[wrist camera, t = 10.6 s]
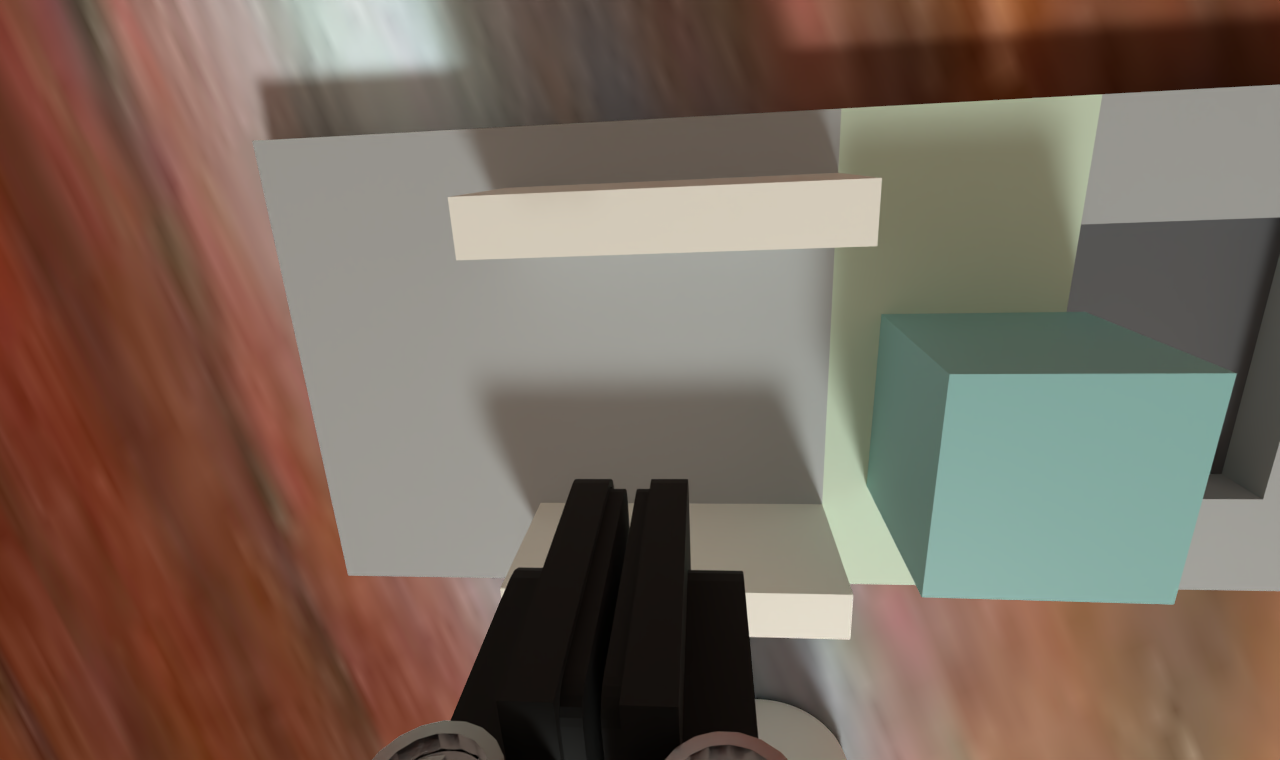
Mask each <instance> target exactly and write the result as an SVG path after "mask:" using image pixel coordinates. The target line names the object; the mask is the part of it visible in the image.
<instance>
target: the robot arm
mask: <svg viewBox="0 0 1280 760" xmlns="http://www.w3.org/2000/svg"><path fill="white" fill-rule="evenodd" d="M373 760H788V759H787V758H786V757H785V756H784V755H783V754H782V753H781V752H780V751H778V750H777V749H775V748H774V747H772V746H771V745H769V744H767V743H766V742H764V741H763V740H761V739H758V728H757V716H756V705H755V694H754V683H753V672H752V661H751V650H750V639H749V628H748V616H747V605H746V594H745V583H744V574H743V571H725V570H691V552H690V515H689V483H688V479H651V483H650V489H637V490H636V495H635V501H634V506H633V512H632V518H631V523H630V526H629V511H628V497H627V490H626V489H614V484H613V480H612V479H575V480H574V482H573V484H572V487H571V489H570V492H569V495H568V498H567V501H566V504H565V506H564V509H563V512H562V515H561V518H560V520H559V523H558V526H557V529H556V532H555V535H554V537H553V540H552V543H551V546H550V549H549V552H548V554H547V557H546V560H545V563H544V566H543V568H525V567H518V568H517V569H515V570H514V572H513V573H512V575H511V577H510V579H509V582H508V584H507V586H506V589H505V591H504V594H503V596H502V598H501V601H500V603H499V606H498V608H497V610H496V613H495V615H494V618H493V620H492V622H491V625H490V627H489V630H488V632H487V634H486V637H485V639H484V642H483V644H482V646H481V649H480V651H479V654H478V656H477V658H476V661H475V663H474V666H473V668H472V670H471V673H470V675H469V678H468V680H467V682H466V685H465V687H464V690H463V692H462V694H461V697H460V699H459V702H458V704H457V706H456V709H455V711H454V714H453V716H452V718H451V721H440V722H436V723H431V724H427V725H423V726H420V727H418V728H416V729H414V730H412V731H409V732H407V733H405V734H403V735H401V736H399V737H398V738H397V739H395V740H394V741H393V742H391V743H390V744H389V745H387V746H386V747H385V748H383V749H382V750H381V751H380V752H379V753H378V754H377V755H376V756H375V757H374V758H373Z"/></svg>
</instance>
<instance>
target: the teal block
mask: <svg viewBox="0 0 1280 760" xmlns="http://www.w3.org/2000/svg"><path fill="white" fill-rule="evenodd" d="M1236 375H1237V373H1235V372H1232V371H1230V370H1227V369H1225V368H1222V367H1220V366H1218V365H1215V364H1213V363H1210V362H1208V361H1205V360H1203V359H1200V358H1198V357H1195V356H1193V355H1190V354H1188V353H1185V352H1183V351H1181V350H1178V349H1176V348H1173V347H1171V346H1168V345H1166V344H1163V343H1161V342H1158V341H1156V340H1153V339H1151V338H1148V337H1146V336H1144V335H1141V334H1139V333H1136V332H1134V331H1131V330H1129V329H1126V328H1124V327H1121V326H1119V325H1116V324H1114V323H1111V322H1109V321H1106V320H1104V319H1102V318H1099V317H1097V316H1094V315H1092V314H1089V313H1087V312H1022V313H936V314H881V324H880V336H879V347H878V359H877V370H876V382H875V394H874V405H873V417H872V428H871V440H870V451H869V463H868V474H867V488H868V490H869V492H870V494H871V496H872V498H873V500H874V502H875V504H876V506H877V508H878V510H879V512H880V514H881V516H882V518H883V520H884V522H885V524H886V526H887V528H888V530H889V532H890V534H891V536H892V538H893V540H894V542H895V544H896V546H897V548H898V550H899V552H900V554H901V556H902V558H903V560H904V562H905V564H906V566H907V568H908V570H909V572H910V574H911V576H912V578H913V580H914V582H915V584H916V586H917V588H918V590H919V592H920V594H921V597H935V598H969V599H1004V600H1039V601H1073V602H1108V603H1143V604H1174V603H1175V599H1176V595H1177V592H1178V588H1179V584H1180V580H1181V577H1182V573H1183V569H1184V566H1185V562H1186V558H1187V555H1188V551H1189V547H1190V544H1191V540H1192V536H1193V533H1194V529H1195V525H1196V522H1197V518H1198V514H1199V511H1200V507H1201V503H1202V500H1203V496H1204V492H1205V489H1206V485H1207V481H1208V478H1209V474H1210V470H1211V467H1212V463H1213V459H1214V456H1215V452H1216V448H1217V445H1218V441H1219V437H1220V434H1221V430H1222V426H1223V423H1224V419H1225V415H1226V412H1227V408H1228V404H1229V401H1230V397H1231V393H1232V390H1233V386H1234V382H1235V379H1236Z"/></svg>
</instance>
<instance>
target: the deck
mask: <svg viewBox="0 0 1280 760" xmlns="http://www.w3.org/2000/svg"><path fill="white" fill-rule="evenodd" d="M252 142H253V146H254V151H255V155H256V160H257V164H258V169H259V173H260V178H261V183H262V187H263V192H264V196H265V201H266V205H267V210H268V214H269V219H270V223H271V228H272V232H273V237H274V241H275V246H276V250H277V255H278V260H279V264H280V269H281V273H282V278H283V282H284V287H285V291H286V296H287V300H288V305H289V309H290V314H291V318H292V323H293V327H294V332H295V337H296V341H297V346H298V350H299V355H300V359H301V364H302V368H303V373H304V377H305V382H306V386H307V391H308V395H309V400H310V404H311V409H312V414H313V418H314V423H315V427H316V432H317V436H318V441H319V445H320V450H321V454H322V459H323V463H324V468H325V472H326V477H327V481H328V486H329V491H330V495H331V500H332V504H333V509H334V513H335V518H336V522H337V527H338V531H339V536H340V540H341V545H342V549H343V554H344V558H345V563H346V568H347V572H348V575H353V576H412V577H472V578H505V580H504V582H503V584H502V586H501V588H500V589H501V597H502V596H503V594H504V591H505V589H506V586H507V584H508V582H509V579H510V577H511V575H512V573H513V572H514V570H515V569H517V568H518V567H525V568H543V566H544V563H545V560H546V557H547V554H548V552H549V549H550V546H551V543H552V540H553V537H554V535H555V532H556V529H557V526H558V523H559V520H560V518H561V515H562V512H563V509H564V506H565V504H566V501H567V498H568V495H569V492H570V489H571V487H572V484H573V482H574V480H575V479H612V480H613V484H614V489H626V490H627V497H628V511H629V526H630V523H631V518H632V512H633V506H634V501H635V495H636V490H637V489H650V483H651V479H688V483H689V515H690V552H691V570H725V571H743V574H744V583H745V594H746V605H747V616H748V628H749V637H772V638H812V639H850V635H851V621H852V606H853V593H852V590H851V587H850V584H890V585H916V584H915V582H914V580H913V578H912V576H911V574H910V572H909V570H908V568H907V566H906V564H905V562H904V560H903V558H902V556H901V554H900V552H899V550H898V548H897V546H896V544H895V542H894V540H893V538H892V536H891V534H890V532H889V530H888V528H887V526H886V524H885V522H884V520H883V518H882V516H881V514H880V512H879V510H878V508H877V506H876V504H875V502H874V500H873V498H872V496H871V494H870V492H869V490H868V488H867V474H868V463H869V451H870V440H871V428H872V417H873V405H874V394H875V382H876V370H877V359H878V347H879V336H880V324H881V314H936V313H1022V312H1087V313H1089V314H1092V315H1094V316H1097V317H1099V318H1102V319H1104V320H1106V321H1109V322H1111V323H1114V324H1116V325H1119V326H1121V327H1124V328H1126V329H1129V330H1131V331H1134V332H1136V333H1139V334H1141V335H1144V336H1146V337H1148V338H1151V339H1153V340H1156V341H1158V342H1161V343H1163V344H1166V345H1168V346H1171V347H1173V348H1176V349H1178V350H1181V351H1183V352H1185V353H1188V354H1190V355H1193V356H1195V357H1198V358H1200V359H1203V360H1205V361H1208V362H1210V363H1213V364H1215V365H1218V366H1220V367H1222V368H1225V369H1227V370H1230V371H1232V372H1235V373H1237V375H1236V379H1235V382H1234V386H1233V390H1232V393H1231V397H1230V401H1229V404H1228V408H1227V412H1226V415H1225V419H1224V423H1223V426H1222V430H1221V434H1220V437H1219V441H1218V445H1217V448H1216V452H1215V456H1214V459H1213V463H1212V467H1211V470H1210V474H1209V478H1208V481H1207V485H1206V489H1205V492H1204V496H1203V500H1202V503H1201V507H1200V511H1199V514H1198V518H1197V522H1196V525H1195V529H1194V533H1193V536H1192V540H1191V544H1190V547H1189V551H1188V555H1187V558H1186V562H1185V566H1184V569H1183V573H1182V577H1181V580H1180V584H1179V588H1178V589H1188V590H1248V591H1280V85H1263V86H1245V87H1227V88H1208V89H1190V90H1172V91H1154V92H1135V93H1117V94H1099V95H1081V96H1062V97H1044V98H1026V99H1007V100H989V101H971V102H953V103H934V104H916V105H898V106H879V107H861V108H843V109H825V110H806V111H788V112H770V113H751V114H733V115H715V116H697V117H678V118H660V119H642V120H623V121H605V122H587V123H569V124H550V125H532V126H514V127H495V128H477V129H459V130H441V131H422V132H404V133H386V134H367V135H349V136H331V137H313V138H294V139H276V140H258V141H252Z"/></svg>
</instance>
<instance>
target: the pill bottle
mask: <svg viewBox="0 0 1280 760" xmlns="http://www.w3.org/2000/svg"><path fill="white" fill-rule="evenodd" d="M755 705H756V716H757V728H758V739H761V740H763V741H764V742H766V743H767V744H769V745H771V746H772V747H774V748H775V749H777V750H778V751H780V752H781V753H782V754H783V755H784V756H785V757H786V758H787V759H788V760H846V757H845V754H844V752H843V750H842V748H841V746H840V744H839V742H838V741H837V739H836V738H835V736H834V735H833V734H832V733H831V732H830V730H829V729H828V728H827V727H826V726H825V725H824V724H822V723H821V722H820V721H819V720H818V719H816V718H815V717H813V716H812V715H810V714H809V713H807V712H805V711H803V710H801V709H799V708H797V707H794V706H791V705H788V704H785V703H781V702H777V701H772V700H764V699H755Z"/></svg>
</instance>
